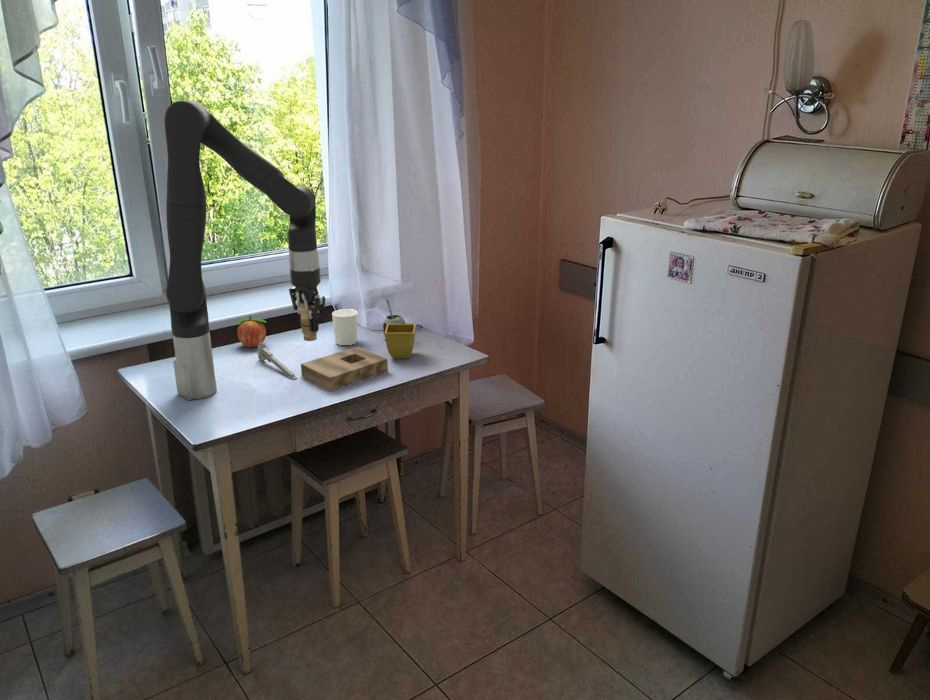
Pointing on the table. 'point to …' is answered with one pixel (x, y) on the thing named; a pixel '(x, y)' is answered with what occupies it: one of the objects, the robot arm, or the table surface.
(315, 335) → the peg
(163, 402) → the table surface
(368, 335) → the table surface
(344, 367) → the board
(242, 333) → the fruit
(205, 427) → the table surface
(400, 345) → the flower pot
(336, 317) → the white cup
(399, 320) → the mate gourd
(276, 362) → the caliper
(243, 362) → the table surface
